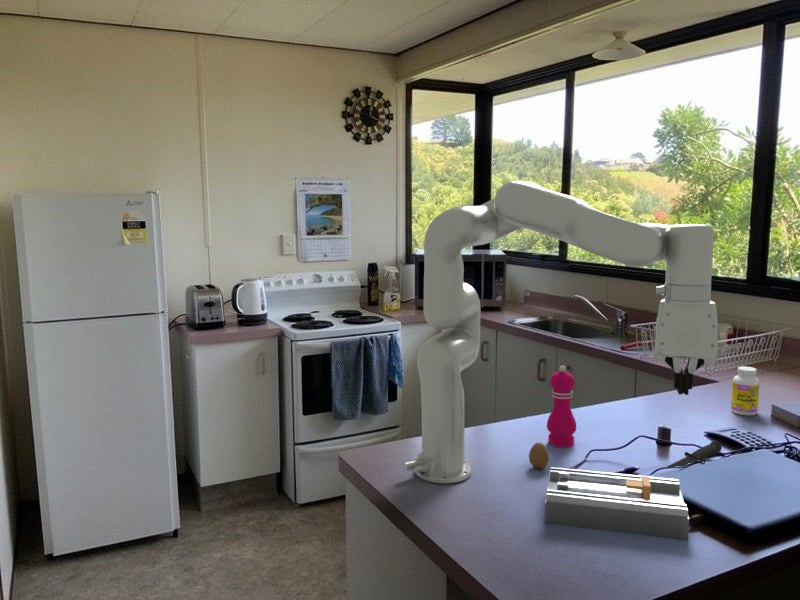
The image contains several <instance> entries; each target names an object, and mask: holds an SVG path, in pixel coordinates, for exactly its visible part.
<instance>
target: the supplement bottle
mask: <svg viewBox="0 0 800 600" xmlns="http://www.w3.org/2000/svg"><path fill="white" fill-rule="evenodd" d="M757 372H758V371H757V368H755V367H752V366H745V365H744V366H738V367H737V375H735V376H734V377H733V379H732V389H731V401H730V402H731V403H730V405H731V406H730V410H731V412H732V413H734V414H737V415H741V416H749V417H750V416H755V415H757V413H758V409H759V396H760V385H761V384H760V383H761V381H760V379H759V378H758V377H756V375H757Z"/></svg>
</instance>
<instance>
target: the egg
mask: <svg viewBox="0 0 800 600" xmlns="http://www.w3.org/2000/svg"><path fill="white" fill-rule="evenodd" d="M528 460H529V462H530V464H531V465H532V467H534V468H535V469H537V470H538V469H539V470H542V469H544V468H545V467H547V465H548V464H549V461H550V454H549V451H548V449H547V447H546V446H545V444H543V443H542V442H536V443H534V444H533V445H532V446H531V449H530V450H529V453H528Z"/></svg>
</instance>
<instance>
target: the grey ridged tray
mask: <svg viewBox="0 0 800 600" xmlns="http://www.w3.org/2000/svg"><path fill="white" fill-rule="evenodd" d="M642 476H643V475H638V474H637V475H636V474H628V473H627V474H626V473H617V472H608V471H607V472H606V471H595V470H588V469H587V470H585V469H577V468H576V469H575V468H566V467H565V468H564V467H553V466H550V470H549V474H548V482H547V488H546V489H547V490H546V495H545V496H546V497H545V501H544V504H545V505H544V523H545V524H546V523H547V524H551V525H560V526H568V527H576V528H577V527H579V528H587V529H595V530H601V531H611V532H616V533H617V532H619V533H626V534H627V533H628V534H635V535H644V536H649V537H659V538H668V539H675V540H677V539H678V540H685V541H688V540H689V530H690V517H689V509H688V506H687V503H685V501H684V498H683V495H682V491H681V483H680V479H678V478H668V477H667V478H666V477H658V476H648V475H647V477H649V480H650V485H651V492H650V500H644V499H643V497H642V499H641V498H631V497H622V496H612V495H603V494H593V493H584V492H574V491H568V483H562V482H561V480H562V479H564V480H566V481H574V482H584V483H594V484H603V485H613V486H623V487H626V480H632V481H642Z"/></svg>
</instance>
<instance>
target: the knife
mask: <svg viewBox="0 0 800 600" xmlns="http://www.w3.org/2000/svg"><path fill="white" fill-rule="evenodd" d="M721 451H722V445H721V443H720V442H719V441H718V440H717V441H716V440H712V441H711V442H710V443H709V444H707V445H704V446H702V447H700V448H698V449H696V450H695V451H693V452H692V453H689V452H688V451H685V452H684V456H685V457H683V458H681V459H678V460H677V461H675V462H672V463H670V464H669V465H667V466H666V467H668V468H671V467H675V466H684V465H687V464H688V463H693V462H696V461H698V460H700V461H705V460H706V459H707V458H709V457H711V456H713V455H714V454H716V453H717V452H721ZM696 463H697V462H696Z"/></svg>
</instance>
